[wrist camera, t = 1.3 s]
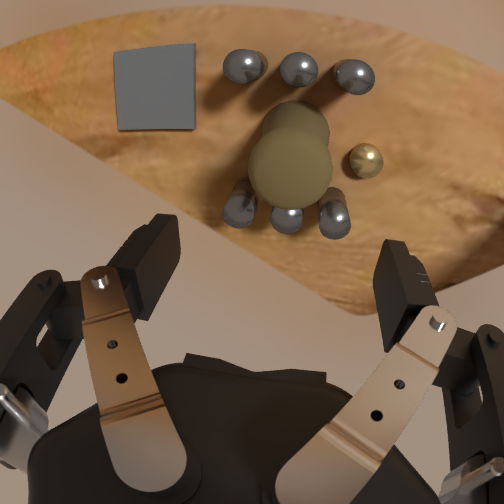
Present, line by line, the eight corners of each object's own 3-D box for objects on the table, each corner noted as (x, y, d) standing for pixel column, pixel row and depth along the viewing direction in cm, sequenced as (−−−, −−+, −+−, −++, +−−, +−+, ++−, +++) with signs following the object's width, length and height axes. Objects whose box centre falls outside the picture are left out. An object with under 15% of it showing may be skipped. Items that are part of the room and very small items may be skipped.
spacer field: (364, 62, 22) (376, 63, 18) (342, 213, 30) (347, 241, 26) (237, 50, 23) (223, 49, 19) (234, 201, 32) (222, 226, 28)
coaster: (195, 43, 23) (193, 43, 23) (196, 127, 28) (194, 128, 27) (117, 52, 24) (113, 52, 24) (121, 128, 29) (118, 130, 28)
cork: (292, 178, 29) (284, 242, 20) (247, 130, 27) (214, 173, 18) (343, 138, 26) (362, 186, 17) (297, 86, 24) (292, 104, 15)
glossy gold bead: (377, 140, 26) (380, 143, 25) (382, 170, 27) (385, 175, 26) (345, 145, 27) (347, 149, 26) (352, 176, 28) (353, 181, 27)
